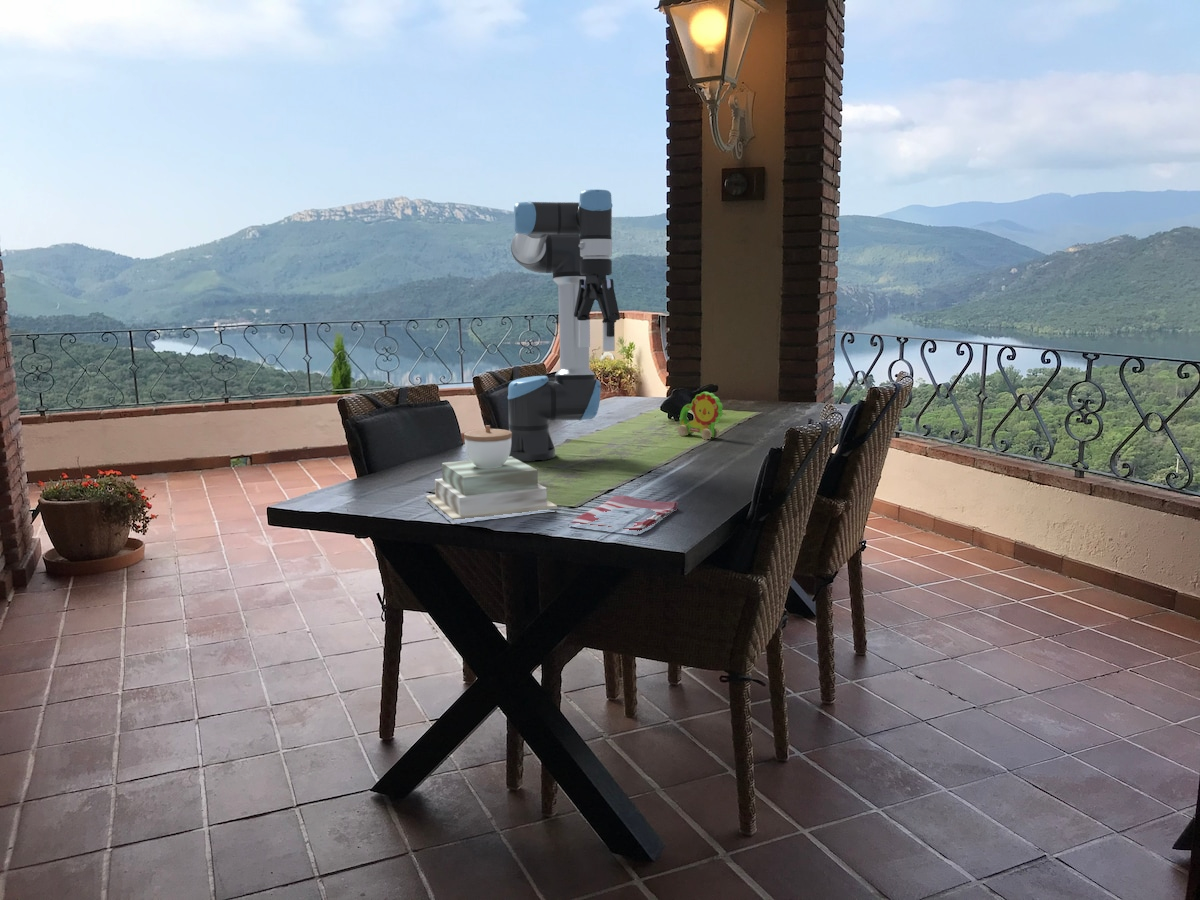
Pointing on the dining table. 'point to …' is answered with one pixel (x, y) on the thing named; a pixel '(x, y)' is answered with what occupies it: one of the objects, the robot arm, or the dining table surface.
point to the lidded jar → (488, 447)
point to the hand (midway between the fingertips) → (596, 349)
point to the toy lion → (702, 416)
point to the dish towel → (629, 502)
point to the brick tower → (488, 490)
